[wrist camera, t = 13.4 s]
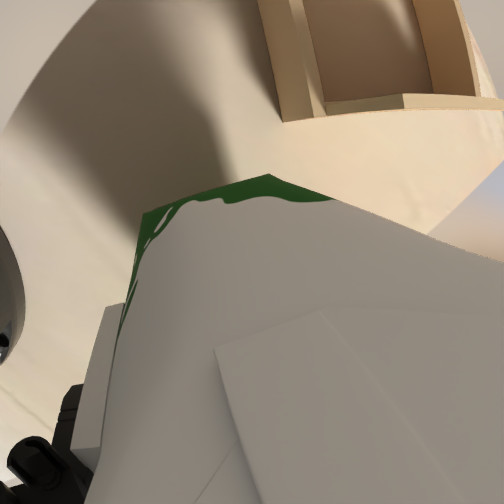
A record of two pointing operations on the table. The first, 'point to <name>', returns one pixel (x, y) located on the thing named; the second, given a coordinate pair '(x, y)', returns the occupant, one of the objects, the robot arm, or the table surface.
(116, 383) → the soya milk
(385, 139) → the table surface
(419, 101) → the wooden tray box
